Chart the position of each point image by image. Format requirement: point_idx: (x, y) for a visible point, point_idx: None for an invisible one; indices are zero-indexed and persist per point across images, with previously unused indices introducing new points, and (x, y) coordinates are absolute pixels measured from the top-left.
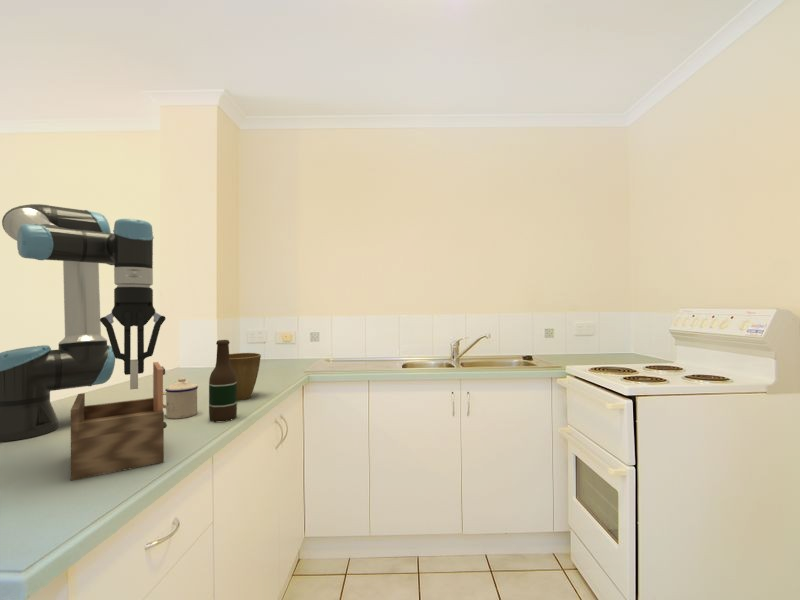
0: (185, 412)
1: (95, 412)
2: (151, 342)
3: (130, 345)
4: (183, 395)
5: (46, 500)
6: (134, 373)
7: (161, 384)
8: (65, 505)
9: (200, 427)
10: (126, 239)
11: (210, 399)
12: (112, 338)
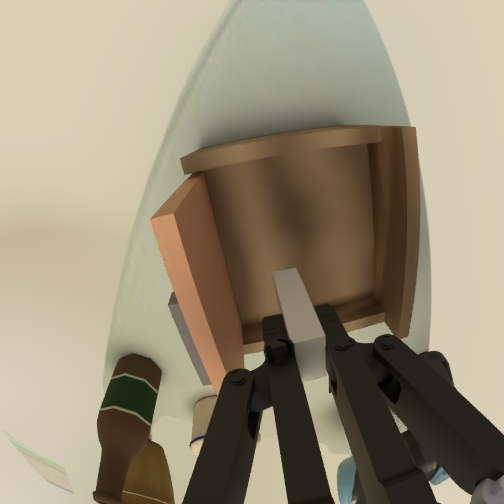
0: (208, 403)
1: (359, 308)
2: (231, 435)
3: (349, 402)
4: None
5: (352, 58)
6: (294, 302)
7: (173, 198)
8: (320, 25)
9: (168, 339)
10: None
11: (151, 397)
12: (452, 406)
